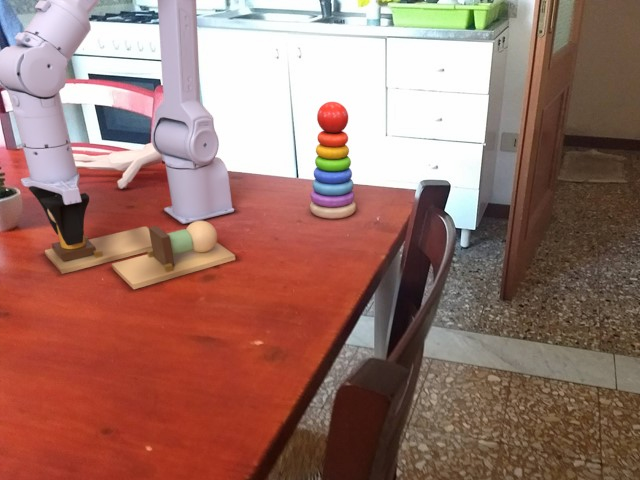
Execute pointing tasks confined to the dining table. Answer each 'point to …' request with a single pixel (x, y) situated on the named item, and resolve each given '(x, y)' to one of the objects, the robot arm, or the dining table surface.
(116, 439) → the dining table surface
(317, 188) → the stacking toy
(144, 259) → the thin cream rectangular board
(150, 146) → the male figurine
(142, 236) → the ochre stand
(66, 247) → the ochre toy
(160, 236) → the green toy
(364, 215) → the dining table surface
